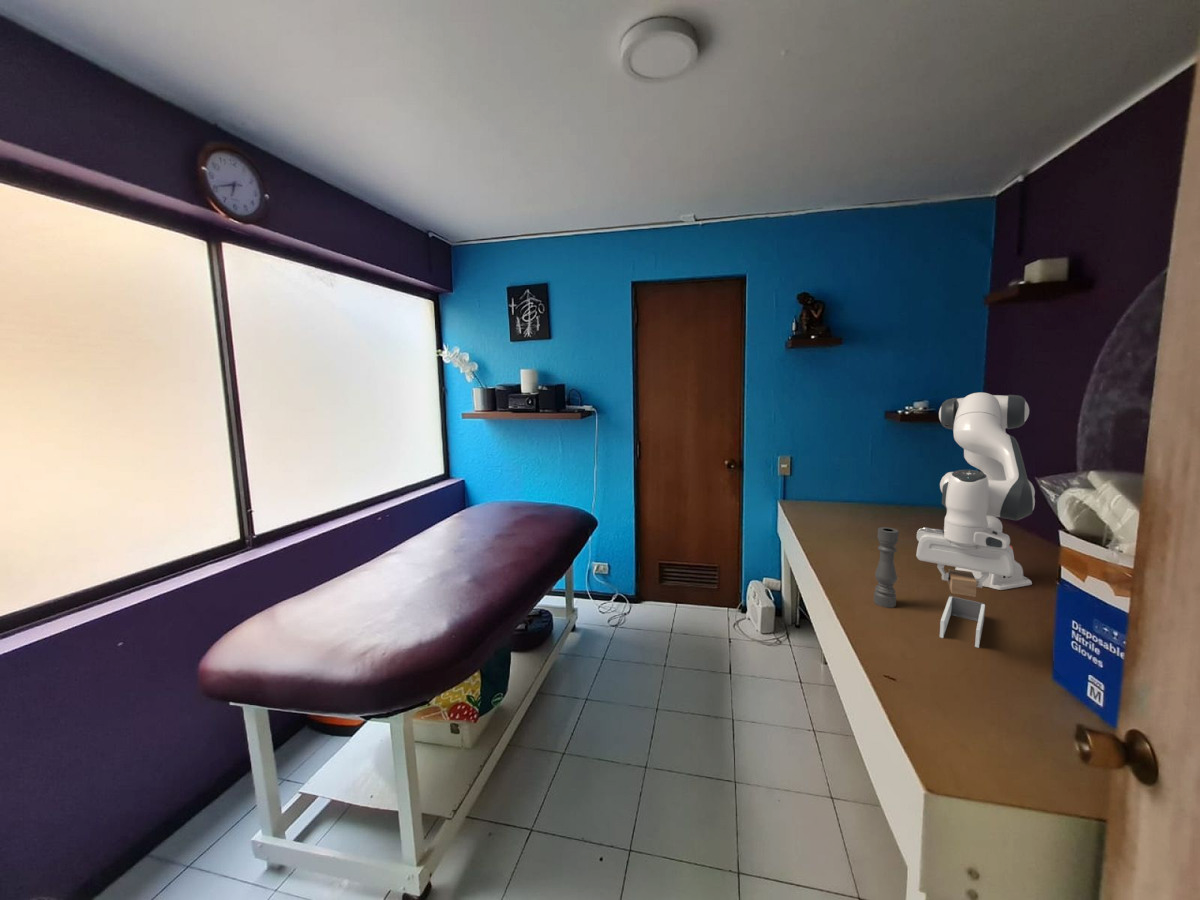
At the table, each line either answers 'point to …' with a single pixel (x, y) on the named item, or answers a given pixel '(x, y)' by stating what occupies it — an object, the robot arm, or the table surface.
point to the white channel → (963, 614)
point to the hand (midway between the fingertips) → (961, 583)
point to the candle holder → (886, 568)
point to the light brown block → (962, 582)
